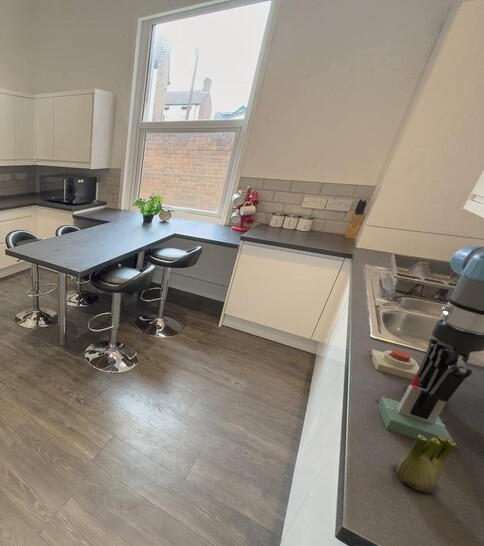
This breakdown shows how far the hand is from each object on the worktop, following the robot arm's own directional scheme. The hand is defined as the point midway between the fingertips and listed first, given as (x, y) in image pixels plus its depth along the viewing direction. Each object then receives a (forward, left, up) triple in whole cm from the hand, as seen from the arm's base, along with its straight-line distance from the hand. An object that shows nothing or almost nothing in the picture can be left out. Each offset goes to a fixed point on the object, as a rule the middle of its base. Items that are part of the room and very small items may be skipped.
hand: (416, 412), depth 73 cm
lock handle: (0, 0, -1) cm, 1 cm away
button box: (-3, -28, -4) cm, 28 cm away
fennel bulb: (+4, +19, -4) cm, 20 cm away
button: (-3, -28, -1) cm, 28 cm away
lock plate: (0, 0, -4) cm, 4 cm away
